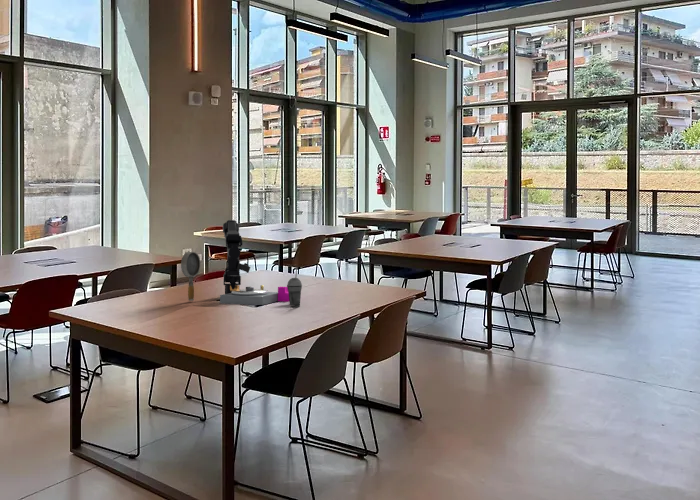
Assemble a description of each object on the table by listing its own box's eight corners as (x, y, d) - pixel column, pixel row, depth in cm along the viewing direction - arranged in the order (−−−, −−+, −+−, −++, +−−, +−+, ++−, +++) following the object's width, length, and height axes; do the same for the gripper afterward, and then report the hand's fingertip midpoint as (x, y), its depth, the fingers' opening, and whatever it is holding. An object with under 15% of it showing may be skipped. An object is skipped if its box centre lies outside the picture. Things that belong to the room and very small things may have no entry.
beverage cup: (287, 308, 317) (287, 268, 317) (302, 308, 318) (301, 268, 317) (287, 310, 310) (286, 269, 310) (302, 310, 311) (301, 268, 310)
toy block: (289, 302, 326) (289, 287, 326) (277, 301, 328) (277, 287, 328) (299, 299, 341) (299, 284, 340) (288, 298, 342) (288, 284, 342)
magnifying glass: (195, 299, 337) (195, 251, 336) (200, 299, 336) (200, 251, 335) (181, 301, 324) (180, 252, 324) (186, 301, 323) (186, 252, 323)
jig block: (220, 303, 318) (220, 295, 318) (241, 298, 340) (241, 291, 340) (262, 304, 311) (262, 296, 311) (281, 300, 333) (281, 292, 333)
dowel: (259, 292, 333) (259, 285, 333) (261, 292, 335) (261, 285, 335) (262, 292, 333) (262, 285, 333) (264, 292, 334) (264, 285, 334)
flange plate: (222, 294, 320) (222, 286, 320) (239, 291, 337) (239, 283, 337) (257, 295, 313) (257, 288, 313) (273, 292, 330) (273, 285, 330)
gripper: (249, 258, 317) (250, 290, 317) (249, 257, 335) (249, 287, 335) (226, 258, 315) (226, 290, 315) (227, 258, 333) (227, 288, 333)
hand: (233, 289), depth 325 cm, fingers closed
